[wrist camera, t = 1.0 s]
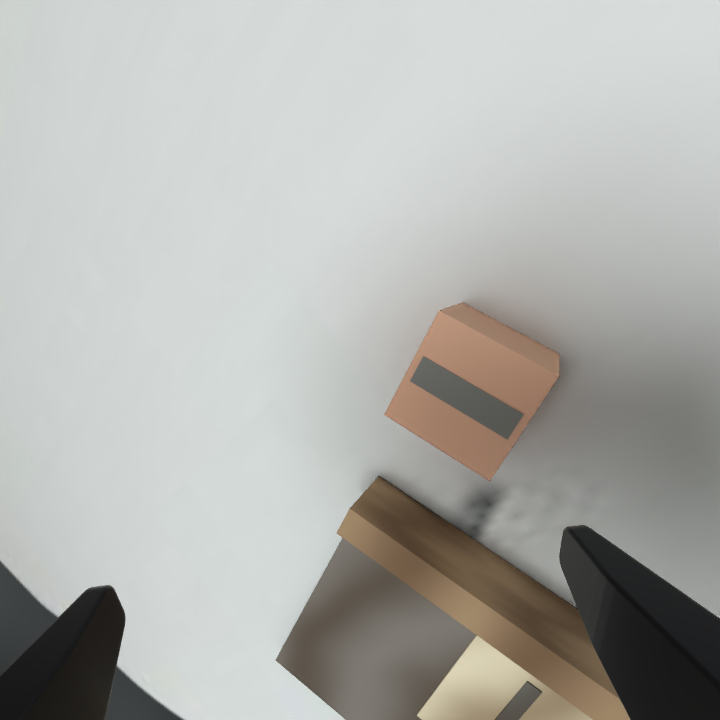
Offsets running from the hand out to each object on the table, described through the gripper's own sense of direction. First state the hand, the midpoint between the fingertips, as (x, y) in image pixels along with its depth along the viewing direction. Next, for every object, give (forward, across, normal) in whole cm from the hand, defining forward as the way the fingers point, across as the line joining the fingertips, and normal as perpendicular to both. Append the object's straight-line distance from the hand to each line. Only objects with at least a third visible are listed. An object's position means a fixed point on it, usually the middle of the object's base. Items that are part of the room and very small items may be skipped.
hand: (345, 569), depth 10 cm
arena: (+8, -6, +20) cm, 23 cm away
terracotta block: (+13, -7, +3) cm, 16 cm away
